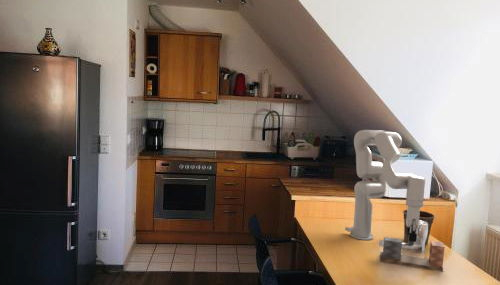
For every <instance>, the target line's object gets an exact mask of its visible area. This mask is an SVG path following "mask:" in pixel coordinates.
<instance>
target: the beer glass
mask: <svg viewBox="0 0 500 285" xmlns="http://www.w3.org/2000/svg"><path fill="white" fill-rule="evenodd" d="M427 234H428V223H427V222H425V221H420V220H419V225H418V228H417V238H416V242H414V245H421V246H422V252H421V253H425V252H426V247H425V246H426V245H425V241H426V238H427ZM415 252H416V253H418V252H417V251H415Z"/></svg>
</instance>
